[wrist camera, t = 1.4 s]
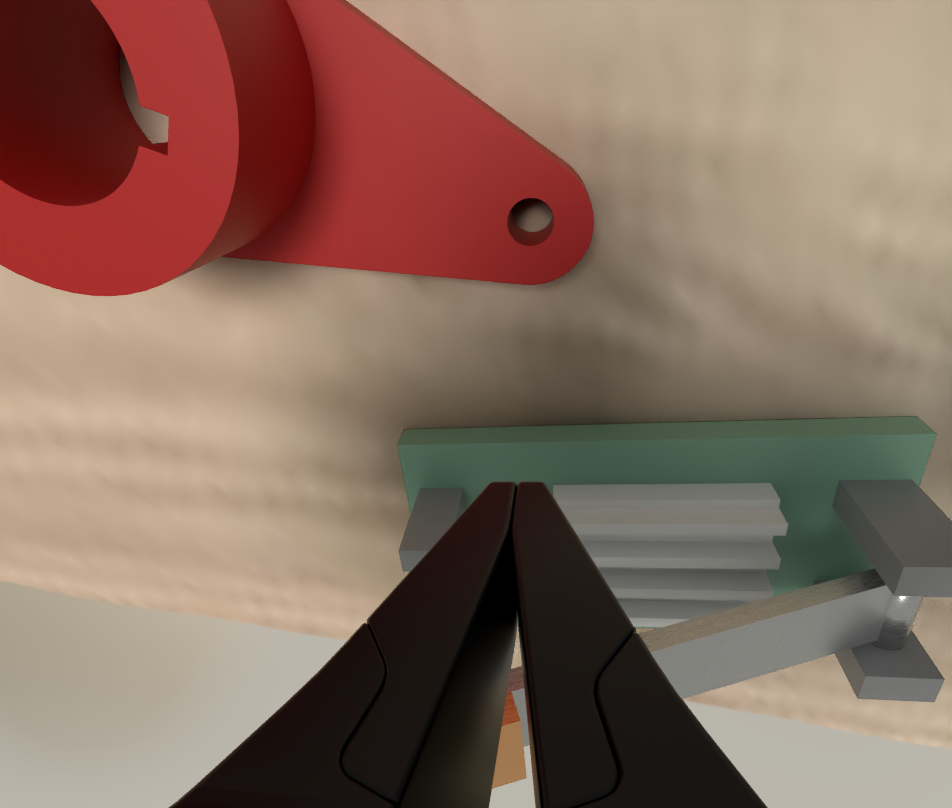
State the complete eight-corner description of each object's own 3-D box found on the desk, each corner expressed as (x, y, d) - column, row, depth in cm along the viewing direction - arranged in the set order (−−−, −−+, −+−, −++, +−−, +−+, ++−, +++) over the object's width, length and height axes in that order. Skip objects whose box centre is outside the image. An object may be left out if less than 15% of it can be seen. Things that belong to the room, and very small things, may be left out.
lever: (63, 186, 20) (-136, 223, 14) (44, -157, 15) (-264, -311, 10) (534, 352, 21) (527, 450, 15) (650, 74, 16) (703, 61, 10)
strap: (905, 544, 19) (961, 585, 17) (881, 613, 21) (930, 657, 19) (382, 686, 16) (388, 752, 15) (401, 754, 18) (409, 820, 16)
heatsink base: (916, 416, 20) (1031, 516, 15) (855, 612, 25) (928, 735, 20) (404, 429, 23) (364, 516, 18) (436, 601, 28) (412, 707, 23)
